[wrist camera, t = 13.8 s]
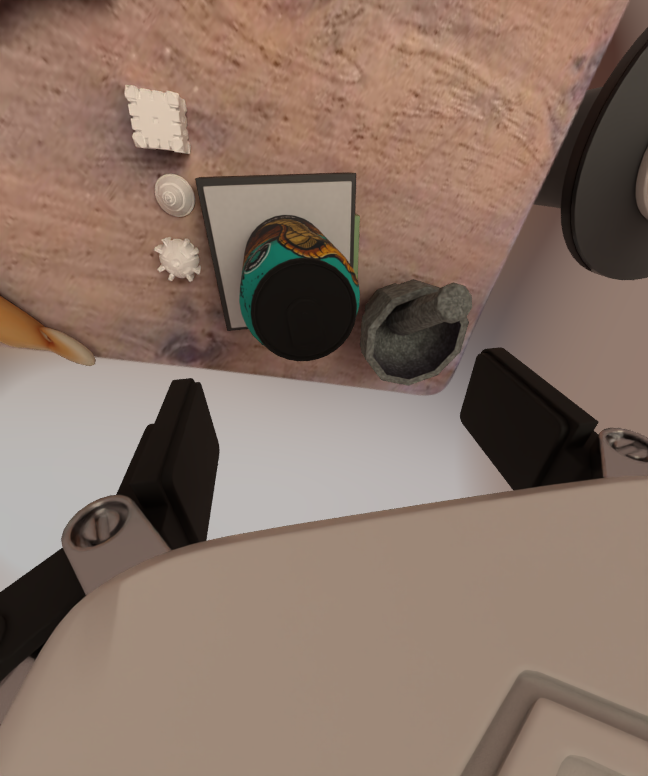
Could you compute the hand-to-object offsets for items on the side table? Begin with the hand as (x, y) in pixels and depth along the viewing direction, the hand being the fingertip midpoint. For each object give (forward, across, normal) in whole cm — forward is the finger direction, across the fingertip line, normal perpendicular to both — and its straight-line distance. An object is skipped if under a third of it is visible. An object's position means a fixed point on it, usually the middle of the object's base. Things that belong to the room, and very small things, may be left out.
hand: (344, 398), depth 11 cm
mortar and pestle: (+23, -10, +6) cm, 26 cm away
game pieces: (+23, +9, -5) cm, 25 cm away
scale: (+23, +1, 0) cm, 23 cm away
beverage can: (+20, +1, 0) cm, 20 cm away
